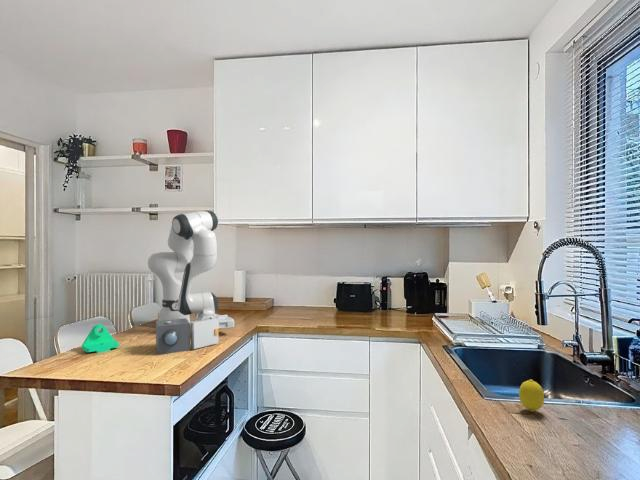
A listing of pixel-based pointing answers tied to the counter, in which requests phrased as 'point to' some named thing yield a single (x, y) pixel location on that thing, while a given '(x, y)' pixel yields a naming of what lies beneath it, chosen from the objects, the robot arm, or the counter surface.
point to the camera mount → (99, 340)
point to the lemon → (531, 395)
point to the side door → (204, 333)
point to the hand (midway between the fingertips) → (215, 327)
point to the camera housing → (172, 336)
